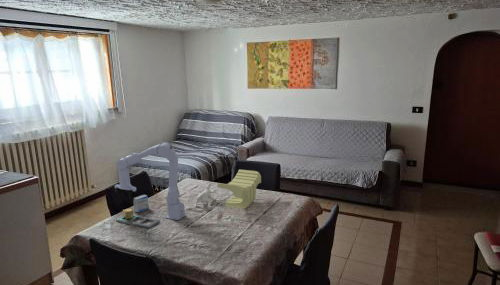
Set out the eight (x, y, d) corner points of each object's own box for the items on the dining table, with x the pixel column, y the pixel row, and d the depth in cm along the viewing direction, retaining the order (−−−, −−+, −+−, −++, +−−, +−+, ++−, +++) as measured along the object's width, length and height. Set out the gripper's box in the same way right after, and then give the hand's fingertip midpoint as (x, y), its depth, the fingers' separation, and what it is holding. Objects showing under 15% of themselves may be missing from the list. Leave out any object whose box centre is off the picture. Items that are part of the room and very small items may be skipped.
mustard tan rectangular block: (133, 220, 195) (132, 210, 194) (126, 222, 192) (125, 212, 191) (131, 217, 198) (130, 208, 197) (123, 219, 196) (122, 210, 194)
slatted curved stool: (242, 214, 199) (241, 186, 195) (218, 210, 205) (217, 183, 202) (261, 197, 226) (260, 171, 222) (239, 194, 232) (239, 169, 228)
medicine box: (138, 213, 205) (137, 199, 203) (133, 211, 207) (132, 198, 205) (149, 208, 211) (148, 195, 209) (144, 207, 213) (143, 194, 212)
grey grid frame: (159, 222, 192) (159, 219, 191) (149, 228, 184) (148, 226, 183) (127, 215, 201) (127, 213, 201) (116, 221, 193) (116, 219, 193)
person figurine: (208, 193, 204) (214, 179, 221) (189, 197, 207) (196, 182, 223) (215, 211, 209) (220, 196, 226) (195, 214, 211) (202, 199, 228)
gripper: (139, 178, 193) (141, 200, 196) (120, 175, 199) (122, 197, 202) (130, 182, 187) (132, 205, 190) (110, 179, 193) (113, 201, 196)
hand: (126, 201), depth 195 cm, fingers open, 7 cm apart
